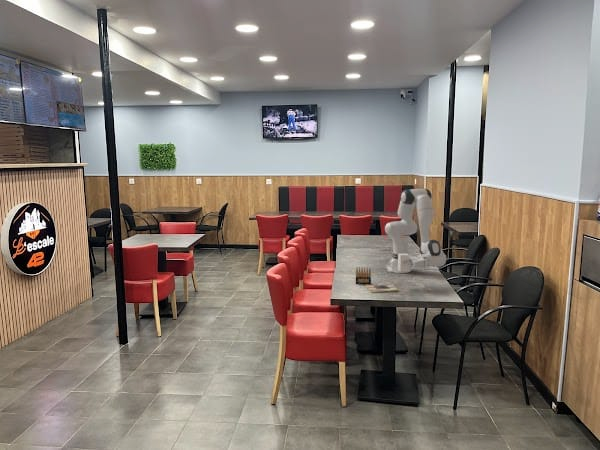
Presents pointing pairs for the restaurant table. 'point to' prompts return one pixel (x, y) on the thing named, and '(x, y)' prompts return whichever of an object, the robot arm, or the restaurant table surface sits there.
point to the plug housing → (401, 260)
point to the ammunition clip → (363, 276)
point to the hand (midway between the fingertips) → (402, 261)
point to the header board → (381, 288)
